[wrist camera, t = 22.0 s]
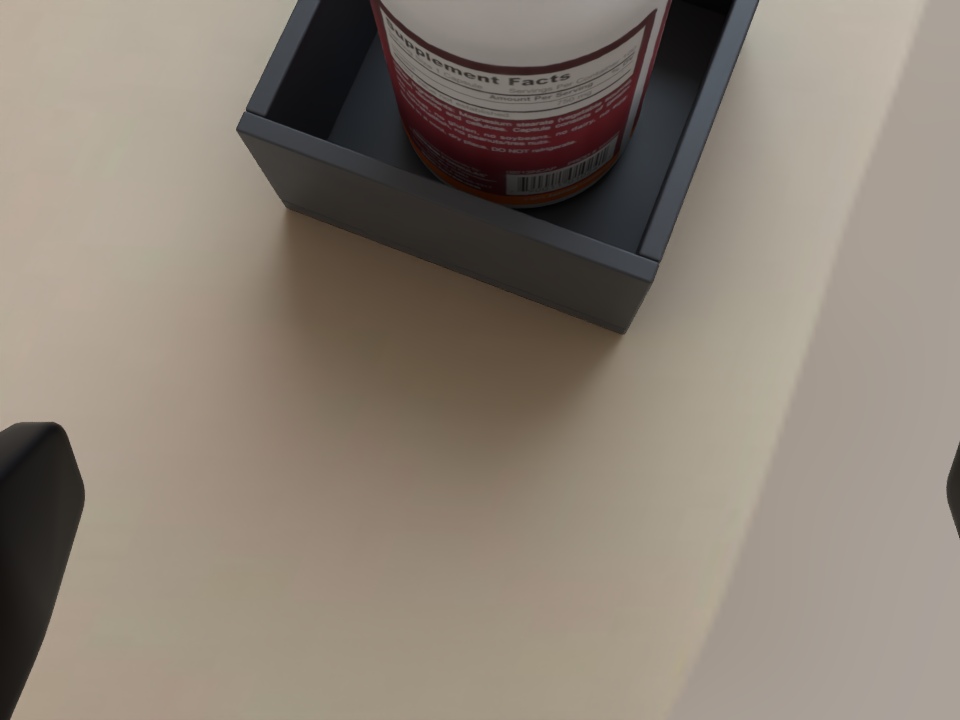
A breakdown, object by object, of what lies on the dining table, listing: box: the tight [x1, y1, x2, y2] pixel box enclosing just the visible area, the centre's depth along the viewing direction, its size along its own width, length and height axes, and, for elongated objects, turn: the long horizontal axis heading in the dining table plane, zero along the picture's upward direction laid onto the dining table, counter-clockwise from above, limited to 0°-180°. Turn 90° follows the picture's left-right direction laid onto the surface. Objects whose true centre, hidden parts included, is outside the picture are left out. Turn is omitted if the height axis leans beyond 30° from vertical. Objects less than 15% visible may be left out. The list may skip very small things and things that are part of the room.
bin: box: [236, 0, 759, 334], centre depth 22 cm, size 10×10×5 cm
